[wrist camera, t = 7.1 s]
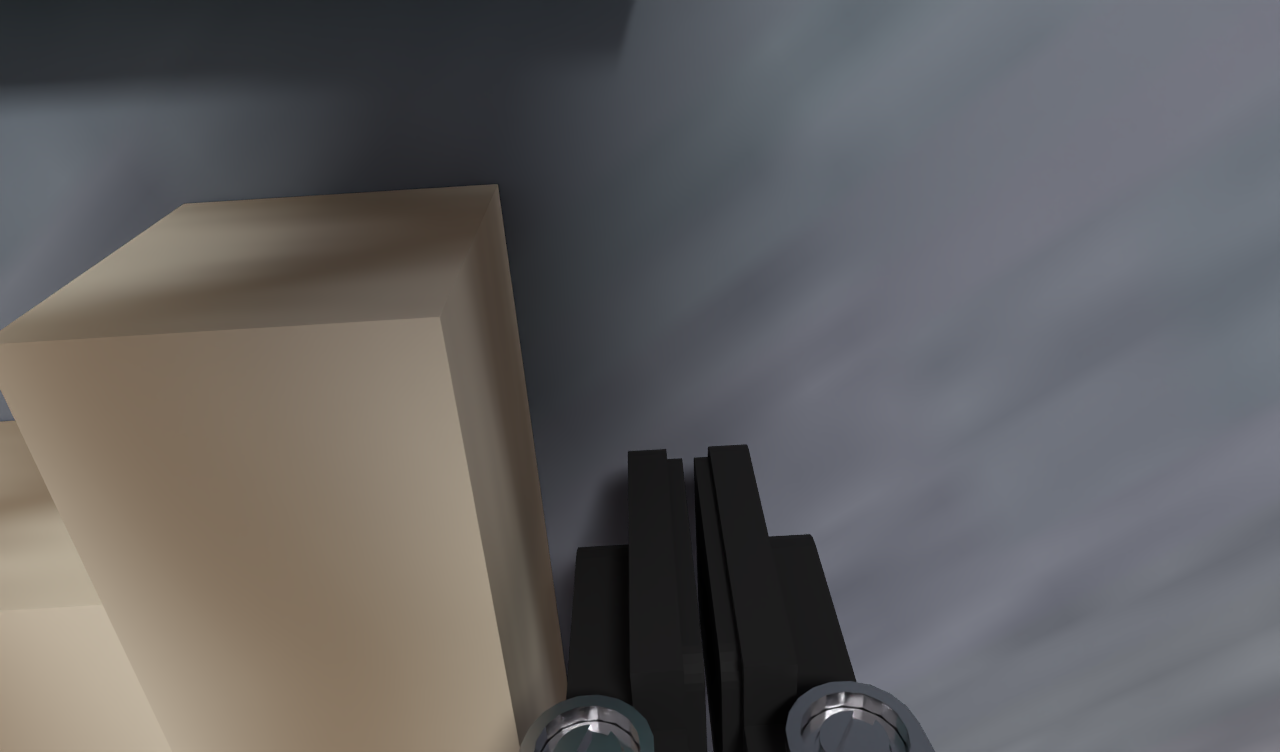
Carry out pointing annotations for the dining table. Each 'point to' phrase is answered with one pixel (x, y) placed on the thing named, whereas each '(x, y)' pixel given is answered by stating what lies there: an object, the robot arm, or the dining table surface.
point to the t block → (277, 489)
